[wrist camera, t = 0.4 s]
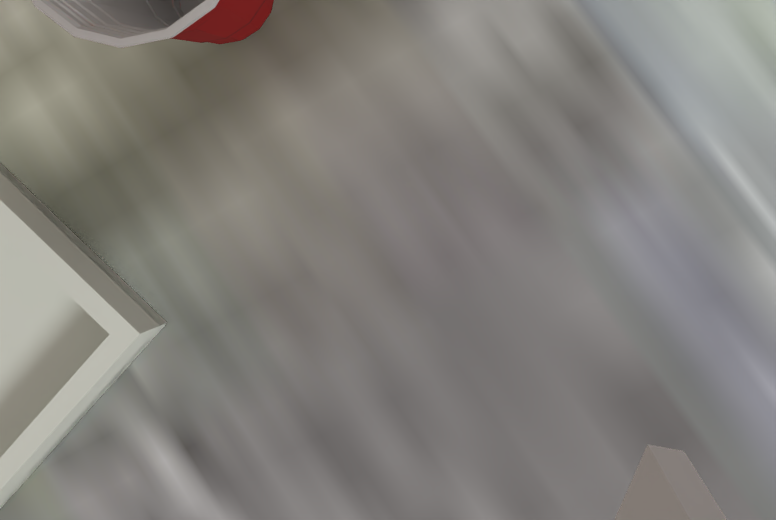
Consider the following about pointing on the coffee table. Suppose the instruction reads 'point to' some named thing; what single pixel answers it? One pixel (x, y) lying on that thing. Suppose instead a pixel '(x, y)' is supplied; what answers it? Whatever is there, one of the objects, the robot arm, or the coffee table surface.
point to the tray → (55, 331)
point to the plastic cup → (157, 19)
